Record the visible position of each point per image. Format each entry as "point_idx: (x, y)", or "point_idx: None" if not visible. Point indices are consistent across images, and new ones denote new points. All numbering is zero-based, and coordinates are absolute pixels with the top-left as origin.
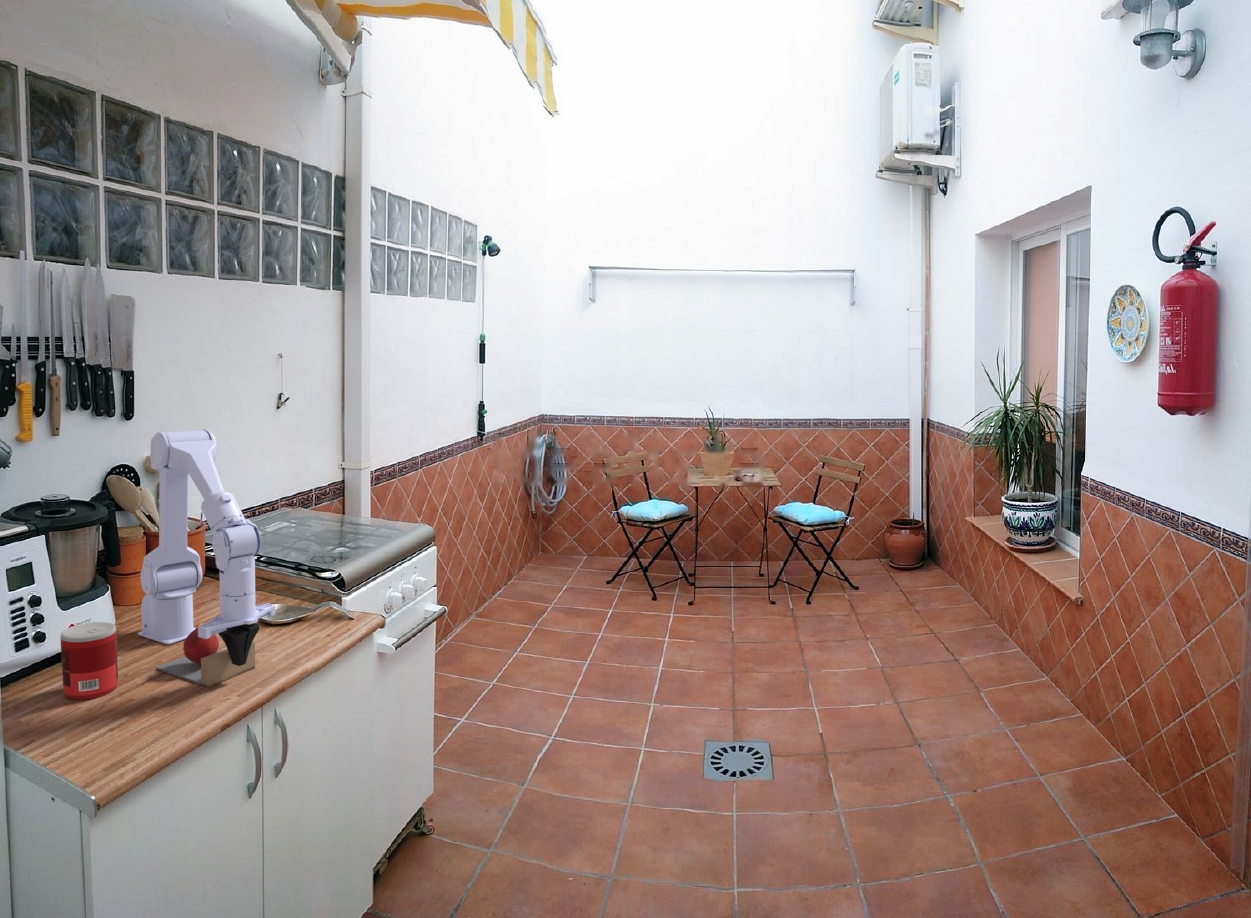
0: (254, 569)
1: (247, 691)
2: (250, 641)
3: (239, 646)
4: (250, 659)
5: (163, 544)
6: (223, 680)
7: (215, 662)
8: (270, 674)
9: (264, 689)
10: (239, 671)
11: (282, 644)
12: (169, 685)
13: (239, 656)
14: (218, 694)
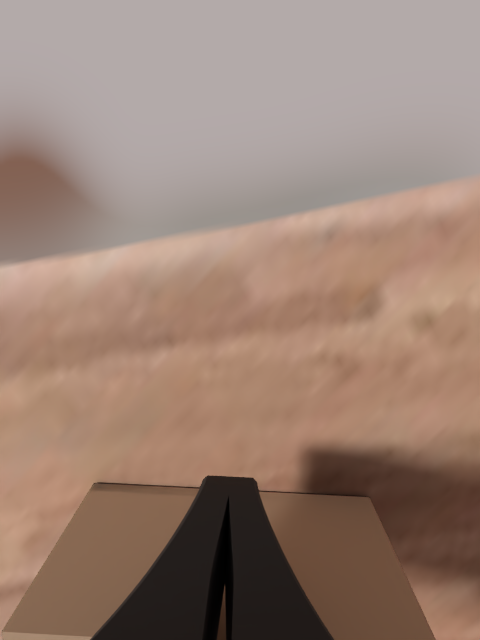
0: None
1: (313, 307)
2: (144, 625)
3: (306, 622)
4: (100, 527)
5: None
6: (280, 493)
7: (355, 608)
8: (101, 365)
9: (250, 248)
10: (186, 497)
11: None
12: None
13: (272, 529)
14: (405, 401)
